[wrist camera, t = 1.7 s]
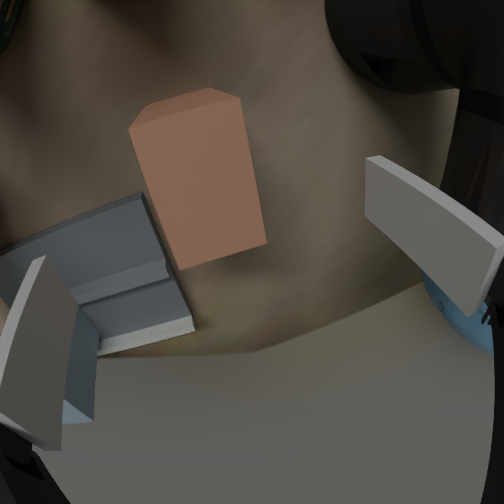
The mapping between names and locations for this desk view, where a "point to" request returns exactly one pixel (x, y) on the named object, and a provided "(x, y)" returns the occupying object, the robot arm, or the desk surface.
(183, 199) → the rust tea box
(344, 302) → the desk surface
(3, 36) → the coffee jar
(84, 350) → the blue-grey tea box
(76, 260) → the shelf
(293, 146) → the desk surface
